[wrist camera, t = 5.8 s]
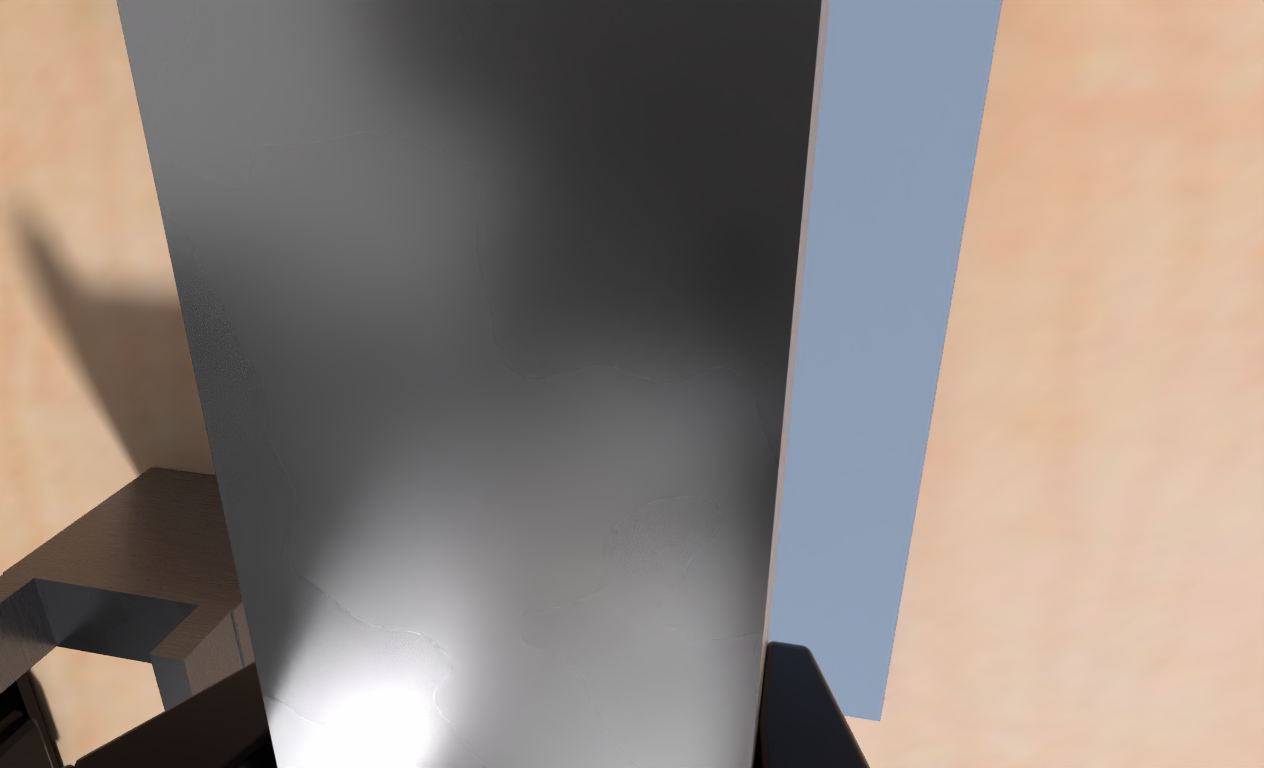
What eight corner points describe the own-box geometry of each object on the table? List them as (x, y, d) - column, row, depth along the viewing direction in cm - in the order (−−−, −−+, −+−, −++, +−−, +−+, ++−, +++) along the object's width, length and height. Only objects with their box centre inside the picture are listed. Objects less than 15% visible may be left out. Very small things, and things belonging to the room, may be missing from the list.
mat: (547, 655, 25) (542, 665, 25) (512, -321, 16) (503, -329, 15) (879, 710, 23) (880, 721, 23) (1057, -351, 14) (1062, -358, 14)
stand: (166, 527, 26) (-32, 687, 20) (151, 467, 25) (-59, 616, 19) (355, 554, 25) (204, 733, 19) (346, 493, 24) (185, 660, 18)
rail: (513, 1055, 15) (410, 1396, 11) (392, -594, 6) (-155, -1294, 3) (724, 1106, 14) (684, 1486, 11) (892, -649, 6) (974, -1630, 2)
